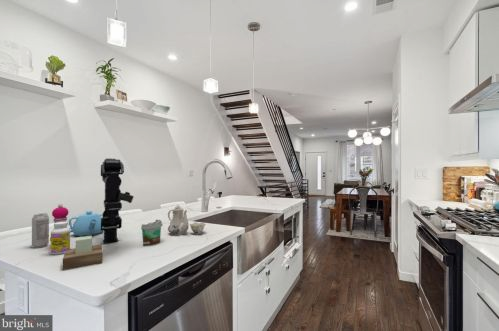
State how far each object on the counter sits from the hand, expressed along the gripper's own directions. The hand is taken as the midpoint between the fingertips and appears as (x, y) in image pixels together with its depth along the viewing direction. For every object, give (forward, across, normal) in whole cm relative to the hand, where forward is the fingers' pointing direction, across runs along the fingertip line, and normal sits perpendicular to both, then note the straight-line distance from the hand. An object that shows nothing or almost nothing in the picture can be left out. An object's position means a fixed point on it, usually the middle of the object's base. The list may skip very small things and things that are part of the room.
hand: (112, 222), depth 108 cm
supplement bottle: (+12, +8, +19) cm, 24 cm away
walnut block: (+12, -10, +10) cm, 19 cm away
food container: (+12, 0, -18) cm, 22 cm away
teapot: (+12, +36, +9) cm, 39 cm away
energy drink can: (+12, +24, +28) cm, 39 cm away
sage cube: (+8, -10, +10) cm, 16 cm away
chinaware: (+12, +12, -35) cm, 39 cm away
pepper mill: (+12, +17, +20) cm, 29 cm away
